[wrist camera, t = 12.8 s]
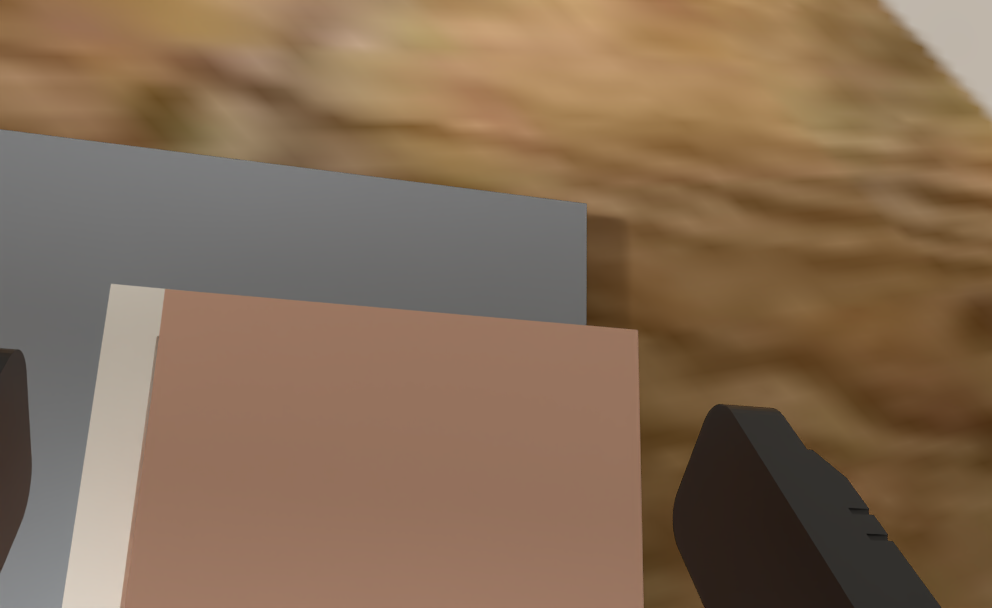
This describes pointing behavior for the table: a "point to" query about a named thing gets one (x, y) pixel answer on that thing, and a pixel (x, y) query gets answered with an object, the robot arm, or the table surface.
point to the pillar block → (386, 460)
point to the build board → (213, 269)
